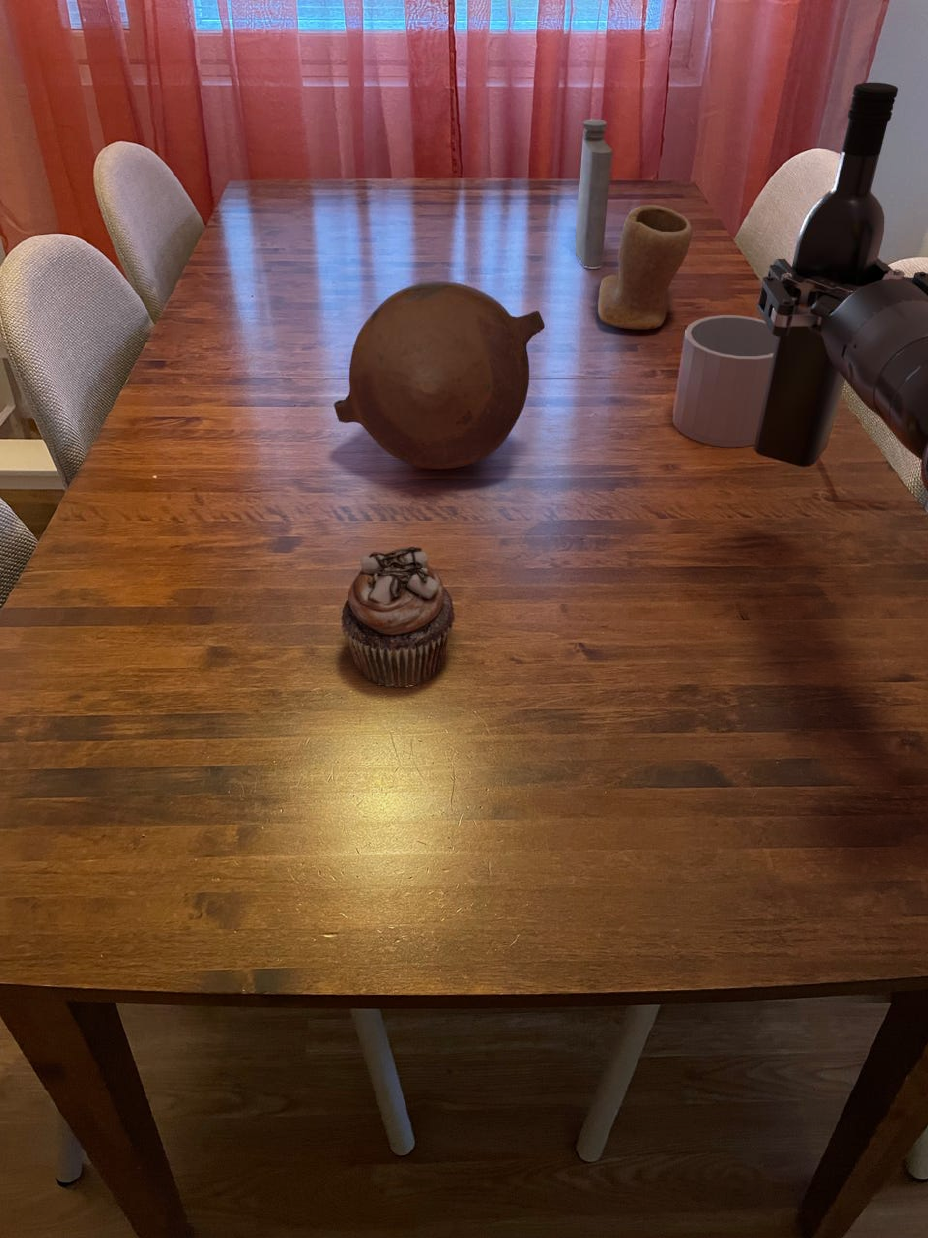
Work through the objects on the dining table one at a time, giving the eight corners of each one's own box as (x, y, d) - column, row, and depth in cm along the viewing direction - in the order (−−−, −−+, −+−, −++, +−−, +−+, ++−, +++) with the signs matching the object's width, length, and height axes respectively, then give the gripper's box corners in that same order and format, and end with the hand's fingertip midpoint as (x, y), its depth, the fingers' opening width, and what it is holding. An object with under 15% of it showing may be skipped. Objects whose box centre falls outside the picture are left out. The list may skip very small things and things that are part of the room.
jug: (489, 515, 99) (525, 423, 125) (540, 333, 89) (568, 273, 114) (306, 460, 100) (378, 380, 125) (335, 273, 90) (408, 227, 115)
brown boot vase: (678, 339, 132) (695, 229, 123) (593, 333, 134) (603, 224, 124) (678, 297, 144) (694, 194, 134) (600, 292, 145) (609, 189, 136)
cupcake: (330, 638, 85) (319, 547, 78) (430, 610, 88) (427, 520, 81) (366, 708, 78) (356, 615, 72) (473, 675, 81) (473, 583, 75)
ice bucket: (761, 400, 119) (779, 315, 112) (781, 448, 110) (803, 359, 103) (666, 399, 119) (679, 314, 112) (678, 446, 110) (693, 357, 103)
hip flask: (602, 269, 153) (614, 134, 140) (577, 269, 153) (587, 134, 140) (594, 236, 165) (605, 108, 152) (571, 236, 165) (579, 108, 152)
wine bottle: (771, 429, 91) (849, 74, 72) (829, 445, 88) (927, 82, 69) (748, 454, 87) (824, 88, 68) (809, 472, 85) (906, 98, 66)
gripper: (1019, 298, 64) (919, 220, 77) (811, 304, 64) (744, 225, 77) (981, 399, 69) (893, 309, 82) (788, 405, 69) (728, 315, 81)
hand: (821, 269), depth 79 cm, fingers closed on wine bottle, 7 cm apart
